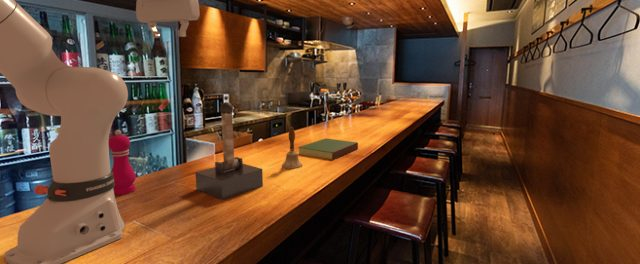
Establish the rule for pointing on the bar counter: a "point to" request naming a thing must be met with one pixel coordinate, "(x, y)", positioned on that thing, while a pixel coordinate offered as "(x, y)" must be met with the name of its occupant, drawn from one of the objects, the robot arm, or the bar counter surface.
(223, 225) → the bar counter surface
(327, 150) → the hardcover book
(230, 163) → the lever
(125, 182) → the pepper mill
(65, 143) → the robot arm
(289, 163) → the hand bell
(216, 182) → the base
